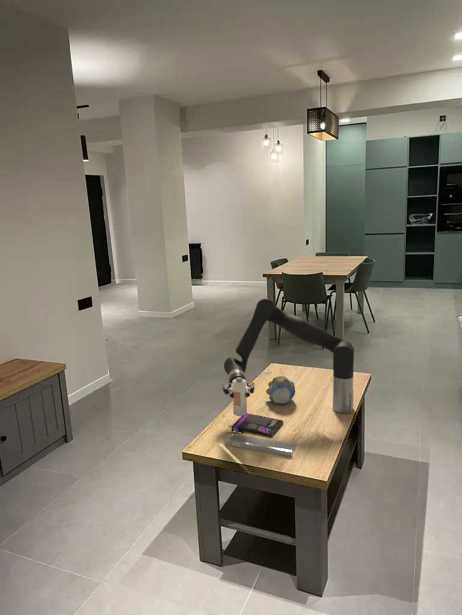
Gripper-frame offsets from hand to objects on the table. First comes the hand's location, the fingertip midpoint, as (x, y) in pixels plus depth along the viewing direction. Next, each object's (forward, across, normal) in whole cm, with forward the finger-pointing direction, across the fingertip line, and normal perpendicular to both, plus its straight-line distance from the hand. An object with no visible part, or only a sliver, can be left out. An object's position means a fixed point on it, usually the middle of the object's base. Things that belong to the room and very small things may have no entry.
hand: (240, 395), depth 186 cm
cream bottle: (-3, 0, +9) cm, 9 cm away
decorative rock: (-42, +23, +23) cm, 53 cm away
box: (-14, +8, +23) cm, 29 cm away
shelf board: (+2, +8, +22) cm, 24 cm away
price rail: (+6, +6, +21) cm, 23 cm away
